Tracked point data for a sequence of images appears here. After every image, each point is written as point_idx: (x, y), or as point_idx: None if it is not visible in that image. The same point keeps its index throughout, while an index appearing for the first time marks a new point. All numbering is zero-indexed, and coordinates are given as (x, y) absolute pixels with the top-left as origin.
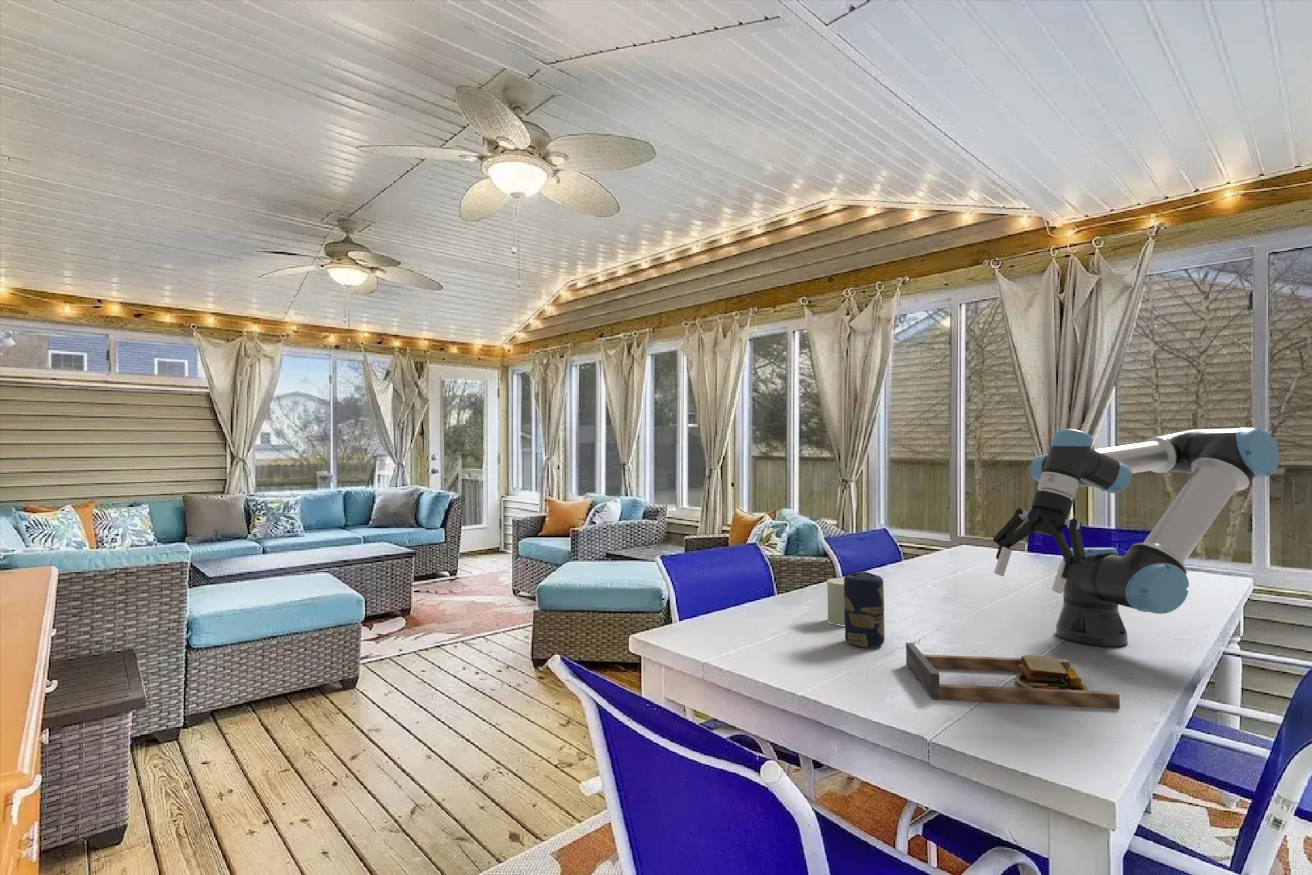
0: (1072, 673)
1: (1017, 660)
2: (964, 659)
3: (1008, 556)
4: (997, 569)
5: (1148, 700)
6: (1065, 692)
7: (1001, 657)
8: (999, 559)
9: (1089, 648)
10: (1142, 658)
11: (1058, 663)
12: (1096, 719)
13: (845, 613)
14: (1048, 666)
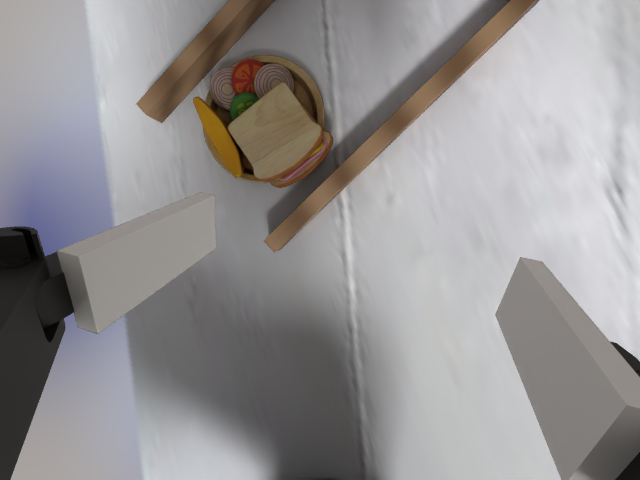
0: (230, 156)
1: (343, 163)
2: (432, 76)
3: (546, 408)
4: (534, 270)
5: (135, 194)
6: (201, 32)
7: (376, 152)
8: (576, 314)
9: (306, 454)
10: (213, 455)
11: (253, 158)
12: (159, 25)
13: None
14: (262, 126)
